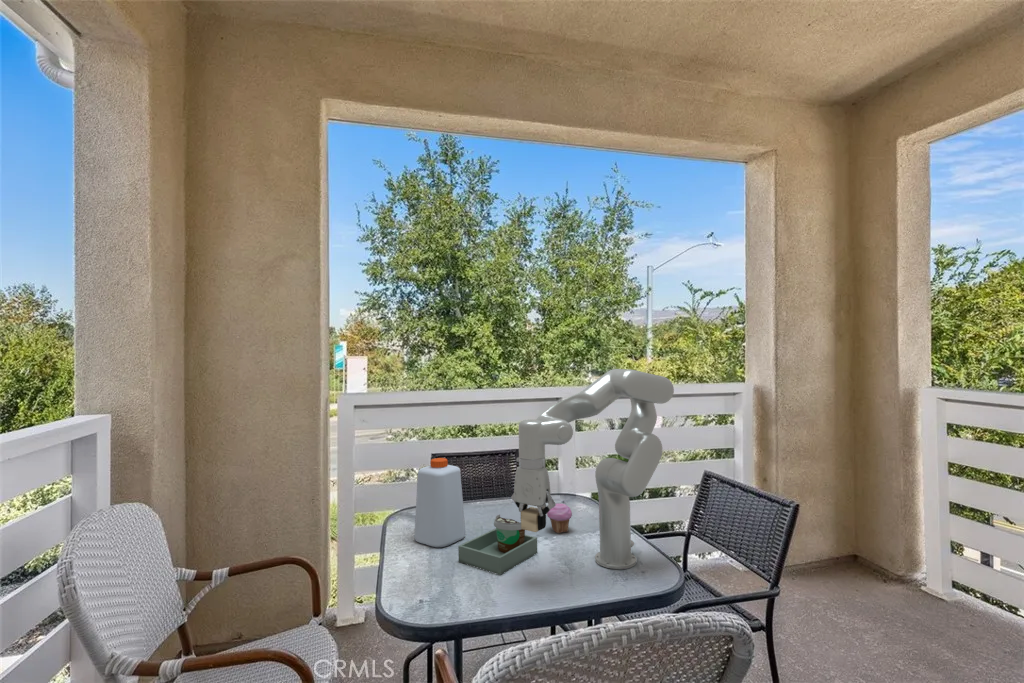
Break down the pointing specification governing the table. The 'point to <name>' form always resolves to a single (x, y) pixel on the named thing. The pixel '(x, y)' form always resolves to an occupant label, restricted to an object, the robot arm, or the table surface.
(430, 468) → the plastic bottle
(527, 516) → the maple block
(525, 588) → the table surface
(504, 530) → the food container
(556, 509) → the cupcake
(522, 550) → the tote
